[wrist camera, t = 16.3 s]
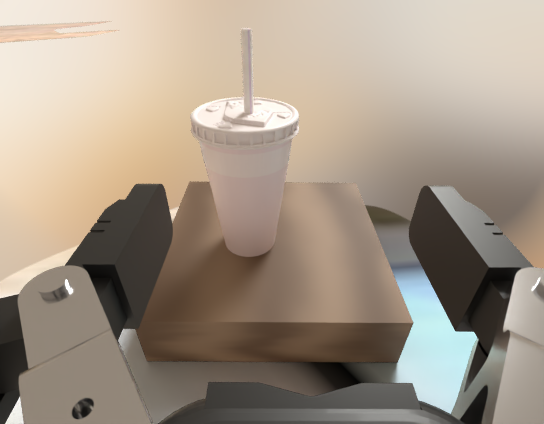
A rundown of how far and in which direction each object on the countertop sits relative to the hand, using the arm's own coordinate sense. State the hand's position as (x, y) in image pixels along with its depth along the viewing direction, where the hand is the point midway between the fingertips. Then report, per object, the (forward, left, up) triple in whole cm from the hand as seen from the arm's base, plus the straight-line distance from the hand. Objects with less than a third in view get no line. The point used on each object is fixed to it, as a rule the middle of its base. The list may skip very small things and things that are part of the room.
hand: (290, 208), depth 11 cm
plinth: (0, -11, -14) cm, 18 cm away
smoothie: (+2, -11, -10) cm, 15 cm away
